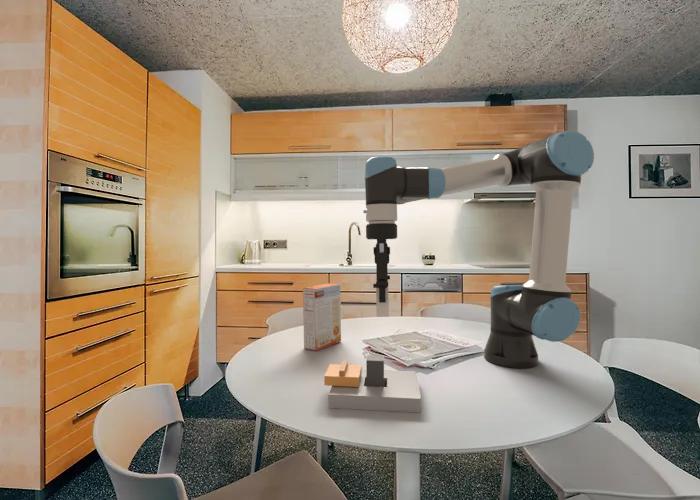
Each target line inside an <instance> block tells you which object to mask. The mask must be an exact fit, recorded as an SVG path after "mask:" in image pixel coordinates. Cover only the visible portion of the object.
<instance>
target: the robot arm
mask: <svg viewBox="0 0 700 500" xmlns="http://www.w3.org/2000/svg"><path fill="white" fill-rule="evenodd" d="M594 159H595V153H594V148H593V145H592V144H591V142H590V140H588V138H587V137H586V136H585V135H584V134H582V133H581V132H578V131H575V130H564V131H561V132H555V133H553V134H551V135H549V136H546V137H543V138H541V139H539V140H536V141H533V142H530V143H528V144H525V145H523V146H521V147H518V148H516V149H513V150H511V151H508V152H504V153H500V154H497V155H495V156H494V157H493V158H492V159H487V160H481V161H476V162H471V163H466V164H465V163H464V164H460V165H459V164H458V165H454V166H449V167H444V168H437V167H430V166H428V167H408V166H407V167H406V166H405V167H404V166H402V167H401V166H398V163H397V160H396V159H395V157H391V156H375V157H370V158H369V159H368V160H367V161H366V162H365V169H364V172H365V173H364V185H365V187H364V190H365V209H363V210H362V212H363V214H365V221H366V222H367V224H366V225H365V238H366V239H367V240H376V243H375V246H373V255H374V264H375V265H376V268H375V269H376V272H375V273H376V282H375V283H373V285H372V287H373V289H375V290H376V291H375V294H376V295H375V296H376V297H375V298H376V299H375V300H376V302H375V303H376V304H375V305H376V317H377V318H379V317H382V318H385V317H386V318H387V317H388V318H389V317H390V316H389V315H390V314H389V281H388V280H391V276H390V275H388V274H389V273H388V272H389V271H388V264H390V256H391V246H388V243H387V240H395V239H397V238H398V225H397V223H396V222H397V221H398V205H404V204H406V203H412V202H416V201H420V200H424V199H425V200H426V199H428V200H430V199H439V198H441V197H443V196H446V195H450V194H456V193H460V192H461V193H462V192H466V191H470V190H476V189H481V188H487V187H491V186H496V185H497V186H499V187H501V188H503V187H504V188H505V187H508V186H517V185H519V186H521V185H530V187H531V188H532V190H534V191H535V202H534V203H535V204H534V215H533V225H532V226H533V227H532V238H531V239H532V241H531V251H530V265H529V274H528V275H529V276H528V280H527V281H525V283H523V284H510V285H508V284H507V285H505V284H504V285H494V286H493V287H492V288H491V290H490V291H491V292H490V297H489V298H490V334H489V337H488V339H487V341H486V344H485V347H484V351H483V352H484V353H483V358H484V359H485V360H486V361H487V362H489V363H491V364H494V365H496V366H501V367H505V368H513V369H531V368H534V367H537V366H538V365H539V353H538V351H537V347H536V344H535V342H534V339H533V336H534V337H536V338H537V339H540V340H545V341H548V342H552V343H553V342H555V343H556V342H557V343H558V342H562V341H565V340H567V339H569V338H570V336H571V335H573V334H574V333H575V332H576V331H577V329H578V327H579V324H580V322H581V310H580V308H579V306H578V305H577V303H576V302H575V301H573V300H572V289H571V288H570V287H569V286H568V285H567V283H566V282H567V281H566V280H567V269H568V268H567V266H568V255H569V254H568V253H569V243H570V233H571V221H572V208H573V196H574V194H573V193H574V192H575V191H576V190H577V189H578V188H579V187H581V181H582V175H585V174H586V173H587V172H588V171H589V169H591V168H592V166H593V164H594V161H595V160H594Z"/></svg>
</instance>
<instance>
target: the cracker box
mask: <svg viewBox="0 0 700 500" xmlns="http://www.w3.org/2000/svg"><path fill="white" fill-rule="evenodd" d="M302 301H303V302H302V303H303V304H302V307H303V308H302V309H303V310H302V311H303V349H306V350H310V351H314V352H318V351H320V350H323V349H324V348H328V347H329V346H332V345H334V344H337V343H339V342H342V321H341V320H342V318H341V316H342V313H341V312H342V311H341V284H339V283H331V282H329V283H324V284H317V285H312V286H307V287H303V288H302Z"/></svg>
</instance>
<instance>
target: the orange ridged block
mask: <svg viewBox="0 0 700 500" xmlns="http://www.w3.org/2000/svg"><path fill="white" fill-rule="evenodd" d="M348 361H349V360H345V359H344V360H342V362H341V364H338V363H337V364H336V363H335V364H334V363H330V364H329V366H328V367H327V369H326V371H325V373H324V377H323V378H324V382H323V383H324V386H327V387H328V386H331V387H332V386H349V387H359V384H360V379H361V374H362V369H363V367H362V366H363V365H361V364H349V362H348Z"/></svg>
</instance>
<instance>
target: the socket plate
mask: <svg viewBox="0 0 700 500" xmlns="http://www.w3.org/2000/svg"><path fill="white" fill-rule="evenodd" d="M419 385H420V384H419V380H418V375H417V371H415V370H413V371H412V370H391V369H390V370H388V369H384V387H373V386H366V369H365V368H364V369H363V368H362V374H361V379H360V384H359V387H349V386H331V388H330V389H329V393H328V409H330V408H331V409H345V410H362V411H363V410H364V411H382V412H385V411H386V412H404V413H405V412H406V413H420V414H421V413H422V397H421V396H422V395H421V390H420V387H419Z"/></svg>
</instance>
